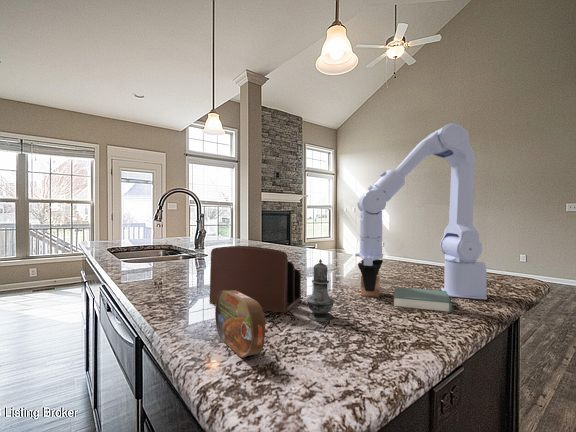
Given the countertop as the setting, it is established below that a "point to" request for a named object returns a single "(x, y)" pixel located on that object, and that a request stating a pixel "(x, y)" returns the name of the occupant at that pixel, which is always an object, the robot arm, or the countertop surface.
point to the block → (370, 293)
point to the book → (422, 299)
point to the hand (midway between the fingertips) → (370, 288)
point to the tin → (240, 322)
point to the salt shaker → (320, 295)
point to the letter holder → (256, 276)
